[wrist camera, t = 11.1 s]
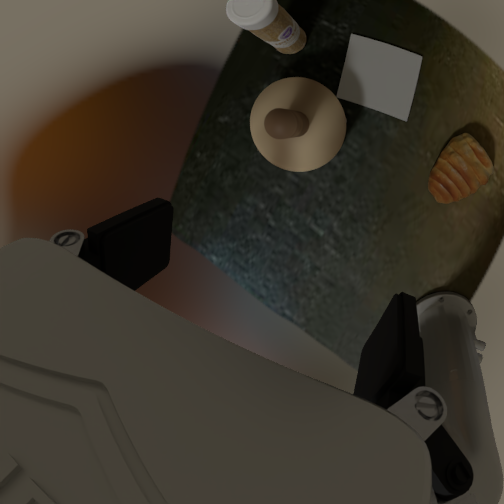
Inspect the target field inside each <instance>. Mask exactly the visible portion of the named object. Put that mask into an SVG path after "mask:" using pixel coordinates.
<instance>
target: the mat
mask: <svg viewBox="0 0 504 504" xmlns="http://www.w3.org/2000/svg"><path fill="white" fill-rule="evenodd" d="M421 61H422V56H420V55H417V54H414V53H412V52H409V51H406V50H404V49H401V48H398V47H395V46H392V45H389V44H386V43H383V42H379V41H376V40H373V39H369V38H366V37H362V36H358V35H355V34H351V37H350V42H349V46H348V51H347V55H346V59H345V63H344V68H343V72H342V76H341V80H340V84H339V88H338V92H337V96H336V97H337V98H340V99H343V100H347V101H350V102H353V103H356V104H360V105H363V106H366V107H369V108H371V109H374V110H377V111H380V112H383V113H386V114H388V115H391V116H394V117H396V118H399V119H401V120H404V121H406V122H407V119H408V116H409V112H410V108H411V104H412V100H413V96H414V92H415V88H416V84H417V80H418V75H419V71H420V66H421Z"/></svg>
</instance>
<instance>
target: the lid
mask: <svg viewBox="0 0 504 504" xmlns="http://www.w3.org/2000/svg"><path fill="white" fill-rule="evenodd" d="M250 129H251V134H252V138H253V140H254V143H255V145H256V147H257V148H258V150H259V151H260V153H261V154H262V155H263V156H264V157H265V158H266V159H267V160H268V161H270V162H271V163H272V164H274V165H276V166H278V167H280V168H282V169H285V170H289V171H296V172H303V171H310V170H313V169H316V168H319V167H321V166H323V165H324V164H326V163H327V162H328V161H330V160H331V159H332V158H333V157H334V156H335V155H336V154H337V152H338V151H339V150H340V148H341V146H342V144H343V141H344V138H345V134H346V118H345V113H344V111H343V108H342V106H341V104H340V102H339V100H338V99H337V97H336V96H335V95H334V94H333V93H332V92H331V91H330V90H329V89H328V88H326V87H325V86H324V85H322V84H320V83H319V82H316V81H314V80H311V79H308V78H302V77H290V78H285V79H281V80H279V81H276V82H274V83H272V84H271V85H269V86H268V87H267V88H265V89H264V90H263V91H262V92H261V94H260V95H259V96H258V98H257V99H256V101H255V103H254V105H253V108H252V111H251V117H250Z"/></svg>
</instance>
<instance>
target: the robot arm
mask: <svg viewBox="0 0 504 504" xmlns="http://www.w3.org/2000/svg"><path fill="white" fill-rule="evenodd" d="M172 221H173V207H172V206H171V203H170V202H169V201H167V200H164V199H161V198H156V199H153V200H151V201H148V202H146V203H143V204H141V205H139V206H137V207H134V208H132V209H130V210H127V211H125V212H123V213H121V214H118V215H116V216H114V217H112V218H110V219H107V220H105V221H103V222H101V223H99V224H97V225H94V226H92V227H90V228H88V229H87V233H88V238H86V239H84V235H83V233H81V232H80V231H77V230H64V231H60V232H58V233H56V234H55V235H53V236H52V238H51V239H50V241H45V240H42V239H36V238H23V239H19V240H17V241H14V242H12V243H10V244H8V245H6V246H4V247H2V248H0V504H498V502H499V500H500V497H501V494H502V489H503V474H502V467H501V463H500V459H499V454H498V451H497V447H496V443H495V438H494V434H493V429H492V425H491V419H490V413H489V409H488V403H487V397H486V392H485V386H484V381H483V376H482V372H481V367H480V363H481V361H482V354H479V353H477V351H476V349H478V350H480V351H483V350H484V349H485V346H486V343H485V342H483V341H480V340H477V339H476V336H475V329H476V324H477V319H476V313H475V310H474V308H473V306H472V304H471V303H470V301H469V300H468V299H467V298H465V297H464V296H462V295H460V294H458V293H454V292H437V293H433V294H430V295H427V296H425V297H424V298H422V299H420V300H419V301H417V302H416V298H415V297H413V296H411V295H408V294H406V293H404V292H401V293H400V294H399V295H398V294H395V295H394V296H393V298H392V300H391V301H390V303H389V305H388V307H387V309H386V310H385V312H384V314H383V315H382V317H381V319H380V321H379V322H378V324H377V326H376V327H375V329H374V331H373V332H372V334H371V335H370V337H369V339H368V340H367V342H366V343H365V345H364V347H363V350H362V353H361V358H360V364H359V369H358V375H357V379H356V384H355V389H354V394H350V393H348V392H346V391H343V390H341V389H338V388H336V387H333V386H331V385H329V384H326V383H324V382H321V381H318V380H316V379H313V378H311V377H309V376H306V375H304V374H301V373H299V372H296V371H294V370H292V369H289V368H287V367H284V366H282V365H280V364H278V363H275V362H273V361H271V360H269V359H266V358H264V357H262V356H260V355H258V354H255V353H253V352H251V351H249V350H247V349H244V348H242V347H240V346H238V345H236V344H234V343H232V342H230V341H227V340H226V339H224V338H221V337H219V336H217V335H215V334H213V333H211V332H209V331H207V330H205V329H203V328H201V327H199V326H198V325H195V324H193V323H192V322H190V321H188V320H186V319H184V318H182V317H180V316H178V315H177V314H175V313H172V312H171V311H169V310H167V309H165V308H164V307H162V306H160V305H158V304H156V303H155V302H153V301H151V300H149V299H147V298H146V297H144V296H142V295H141V294H139V293H137V292H135V290H136V289H138V288H139V287H140V286H142V285H143V284H144V283H146V282H147V281H149V280H150V279H151V278H152V277H154V276H155V275H157V274H158V273H159V272H161V271H162V270H163V269H165V268H166V267H167V266H168V264H169V260H170V245H171V232H172Z"/></svg>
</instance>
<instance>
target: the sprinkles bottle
mask: <svg viewBox="0 0 504 504" xmlns="http://www.w3.org/2000/svg"><path fill="white" fill-rule="evenodd" d="M226 13H227V16H228V18H229V19H230V20H231V21H232V22H233V23H235V24H236V25H238V26H240V27H241V28H243V29H247V30H249V31H251V32H252V33H253V34H254V35H256V36H258V37H259V38H261V39H262V40H264V41H265V42H267V43H269V44H271V45H272V46H274V47H275V48H276V49H277V50H278V51H279V52H281V53H284V54H294V53H297V52H298V51H300V50H301V49H303V47H304V46H305V44H306V34H305V32H304V30H303V29H302V28H300V27H299V26H298V24H297V23H296V22H295V21H294V19H293V18H292V17H291V16H290V15H289V14H288V13H287V12H286V11H285V10H284V9H283V8H282V7H281V6H280V5H279V4H278V3H277V1H276V0H228V2H227V5H226Z"/></svg>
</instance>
